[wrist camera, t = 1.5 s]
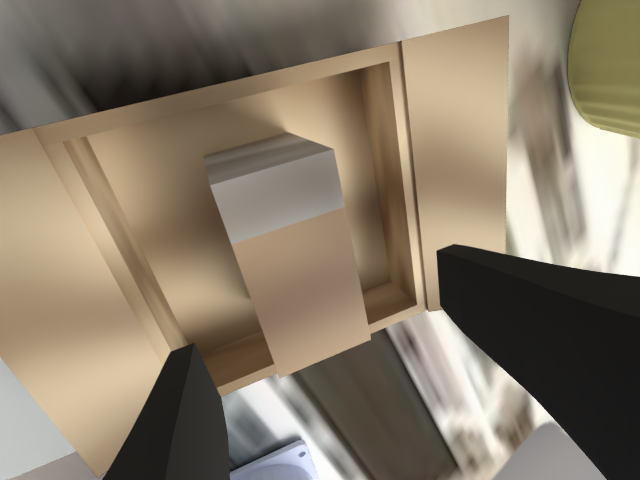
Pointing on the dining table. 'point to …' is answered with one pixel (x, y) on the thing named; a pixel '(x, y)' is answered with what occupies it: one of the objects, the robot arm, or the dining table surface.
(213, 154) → the block
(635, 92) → the potted cactus
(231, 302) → the carton
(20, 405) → the grey mat
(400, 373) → the dining table surface
